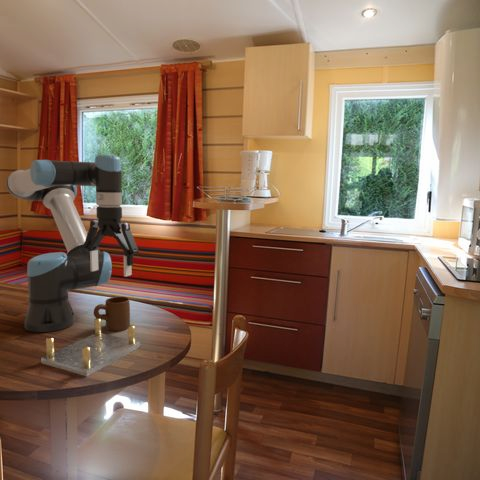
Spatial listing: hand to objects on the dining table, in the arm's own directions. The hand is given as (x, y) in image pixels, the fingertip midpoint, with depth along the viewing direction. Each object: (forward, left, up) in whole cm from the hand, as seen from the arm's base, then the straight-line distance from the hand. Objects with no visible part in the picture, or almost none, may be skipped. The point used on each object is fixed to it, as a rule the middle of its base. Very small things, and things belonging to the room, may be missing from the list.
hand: (110, 273), depth 126 cm
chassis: (+9, -17, -19) cm, 27 cm away
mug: (0, 0, -19) cm, 19 cm away
